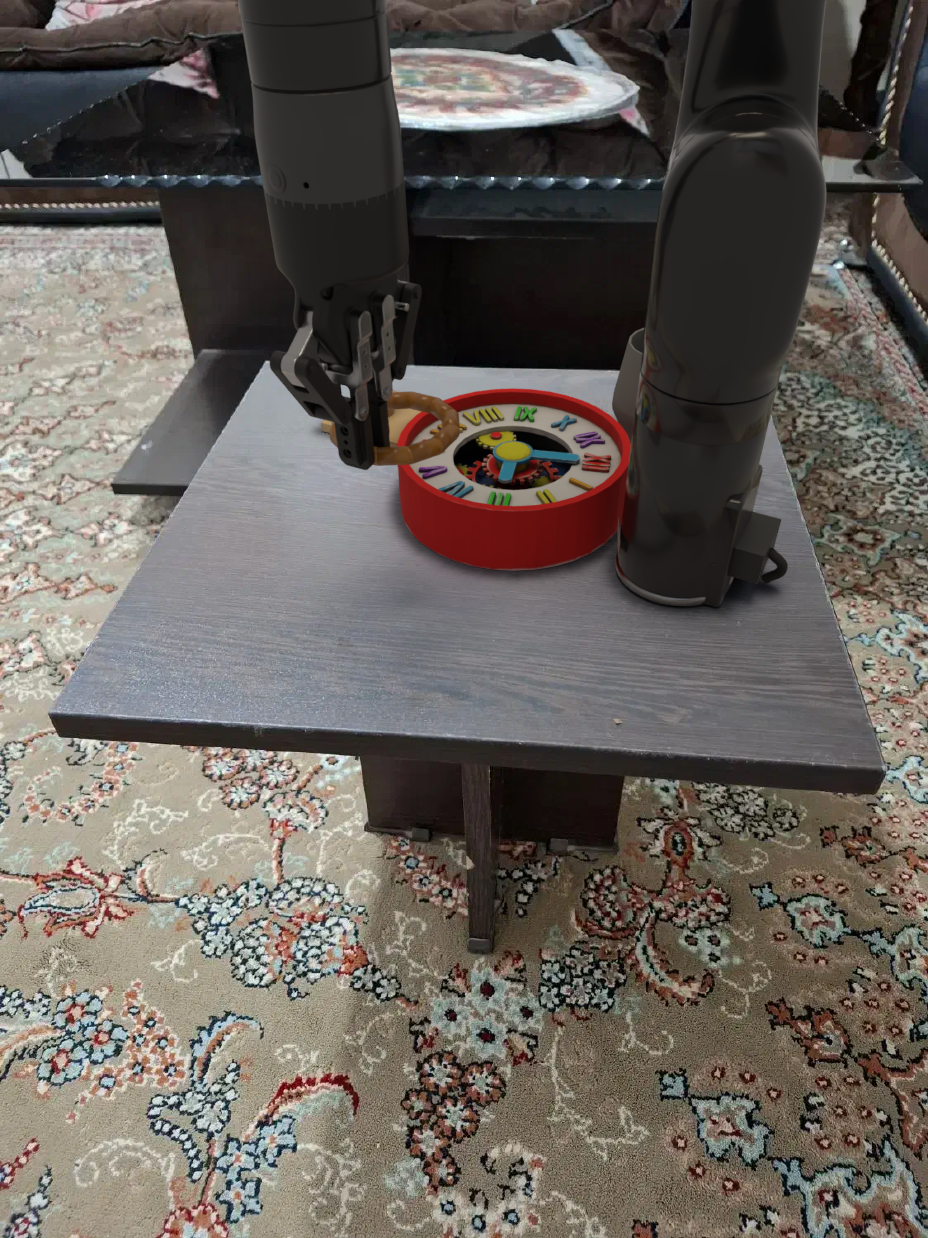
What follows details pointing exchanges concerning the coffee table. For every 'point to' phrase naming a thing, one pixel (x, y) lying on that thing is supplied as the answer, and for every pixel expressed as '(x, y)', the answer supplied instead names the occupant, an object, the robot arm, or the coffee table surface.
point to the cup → (628, 383)
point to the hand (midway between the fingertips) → (366, 457)
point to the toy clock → (517, 480)
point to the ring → (423, 448)
